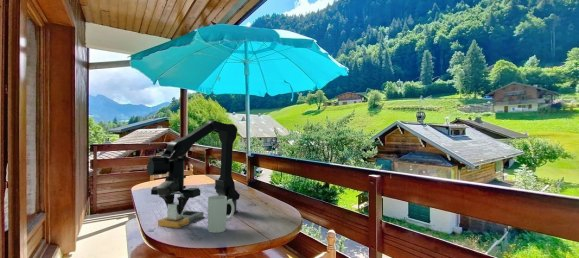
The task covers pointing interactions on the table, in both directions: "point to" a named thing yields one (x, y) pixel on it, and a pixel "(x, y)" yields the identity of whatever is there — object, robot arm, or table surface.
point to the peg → (174, 212)
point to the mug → (218, 213)
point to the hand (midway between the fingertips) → (175, 213)
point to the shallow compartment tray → (187, 218)
